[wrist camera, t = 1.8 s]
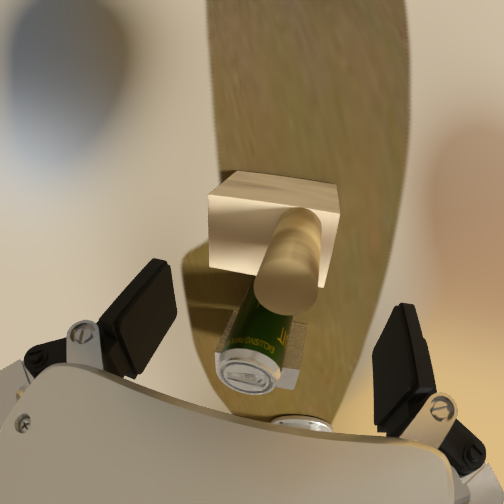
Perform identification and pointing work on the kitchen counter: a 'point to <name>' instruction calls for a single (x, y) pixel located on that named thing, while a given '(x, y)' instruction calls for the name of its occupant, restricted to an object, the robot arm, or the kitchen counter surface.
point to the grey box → (291, 356)
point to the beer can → (254, 348)
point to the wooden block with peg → (274, 235)
